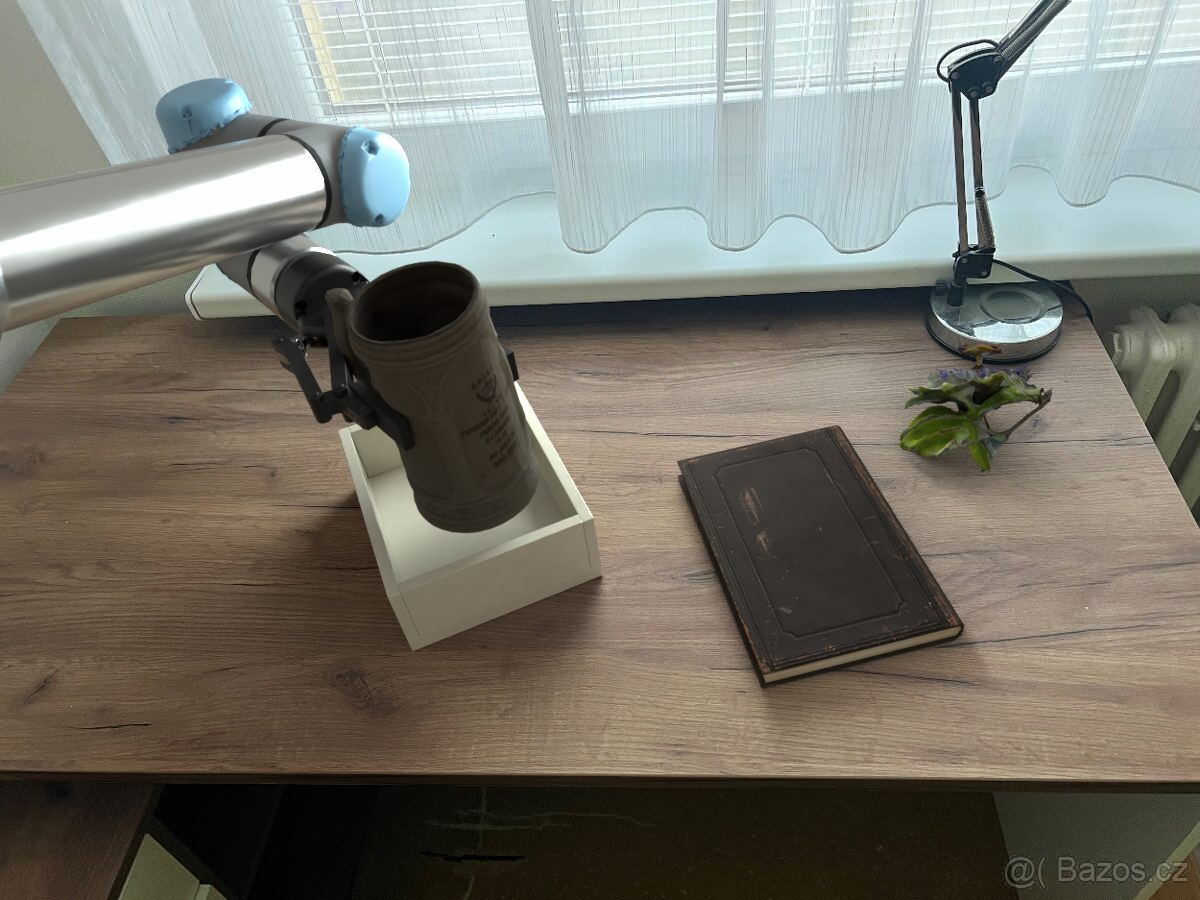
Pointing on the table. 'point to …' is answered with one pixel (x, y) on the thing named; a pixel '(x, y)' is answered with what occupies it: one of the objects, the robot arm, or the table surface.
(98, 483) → the table surface
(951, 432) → the passion flower
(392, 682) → the table surface
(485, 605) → the open storage bin
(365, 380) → the beer stein
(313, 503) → the table surface
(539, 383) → the table surface
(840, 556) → the hardcover book
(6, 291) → the robot arm
